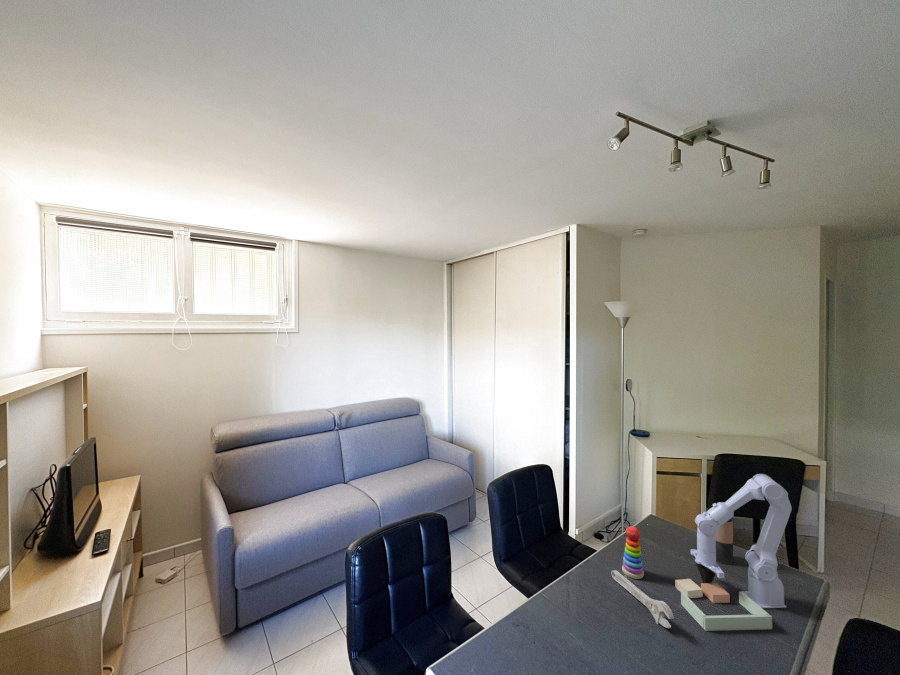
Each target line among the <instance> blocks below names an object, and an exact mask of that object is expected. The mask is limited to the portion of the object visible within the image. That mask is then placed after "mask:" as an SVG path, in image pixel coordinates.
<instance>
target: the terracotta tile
mask: <svg viewBox="0 0 900 675" xmlns="http://www.w3.org/2000/svg"><path fill="white" fill-rule="evenodd" d="M700 588H701V589H703V596H705V597H706V598H707V599H708V600H710V601H711V603H713V604H729V603H731V601H730V599H731V598H730V597H731V595H730V593H729V592H728V591H726V590H725V589H724V588H723V587H722V586H721V585H720V584H719V583H717V582H712V583H703V582H702V583H700Z"/></svg>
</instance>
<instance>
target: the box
mask: <svg viewBox="0 0 900 675" xmlns="http://www.w3.org/2000/svg"><path fill="white" fill-rule="evenodd" d="M738 603H739V604H740V605H741V606H742V607H743V608H744V609H746V611H748V612H749V613H750V614H728V615H727V614H726V615H725V614H723V615H719V614H717V615H706V614H705V613H704V612H703V611H702V609H700V608H699V606H697V605H696V603H695V602H694V601H692V600H691V598H688V597H687V596H686V595H685V594H684V593H681V592H680V605H681V606H682V607H683V608H684V609H685V610H686V611H687V612H688V614H689V615H690V616H691V617H692V618H693V619H694V620H695V621H696V622H697V623H698V624H699V626H701V628H702V629H703V630H704V631H705V632H707V631H708V632H709V631H710V632H711V631H713V632H715V631H747V630H748V631H750V630H751V631H752V630H755V631H756V630H773V616H772V615H771V614H769V613H768V612H767V611H766V610H765V609H764V608H761V607H760V606H759V605H757V604H756V603H755V602H754V601H753V600H751V599H750V598H749V597H748V596H747V595H745V594H744V593H743V592H742V591H739V592H738Z"/></svg>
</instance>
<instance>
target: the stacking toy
mask: <svg viewBox="0 0 900 675" xmlns="http://www.w3.org/2000/svg"><path fill="white" fill-rule="evenodd" d="M625 534H626V538H625V547H624V552H623V557H622V558H623V559H622V560H623V561H622V566H621V570H622V573H623V574H624V575H626V576H627V577H629V578H631V579H633V580H634V579H635V580H639V579H643V578H644V576H645V571H644V570H645V569H644V566H643V561H642V560H643V557H642V551H641V549H642V546H641V542H640V540H639V539H640V537H641V533H640V531H639V529H638V528H637V527H636V526H633V525H631V526H628V527H626V530H625Z"/></svg>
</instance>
